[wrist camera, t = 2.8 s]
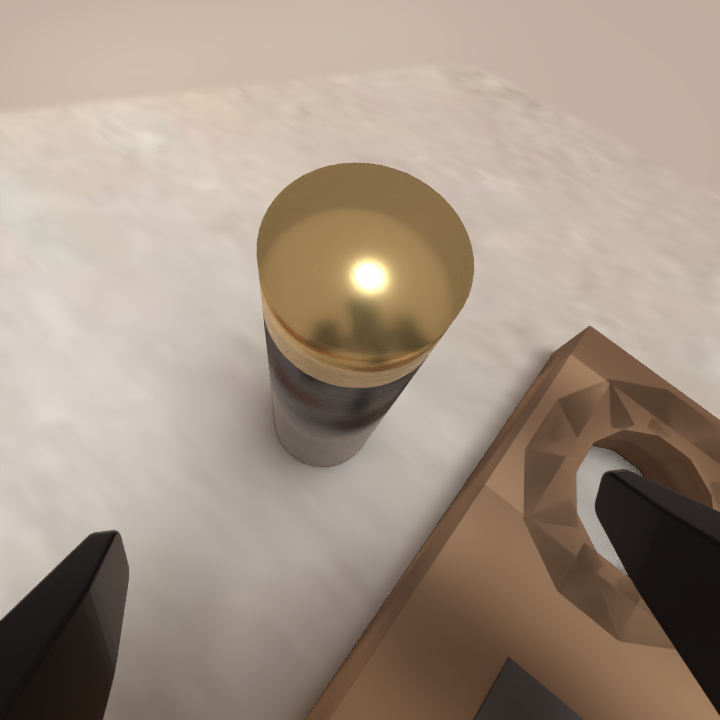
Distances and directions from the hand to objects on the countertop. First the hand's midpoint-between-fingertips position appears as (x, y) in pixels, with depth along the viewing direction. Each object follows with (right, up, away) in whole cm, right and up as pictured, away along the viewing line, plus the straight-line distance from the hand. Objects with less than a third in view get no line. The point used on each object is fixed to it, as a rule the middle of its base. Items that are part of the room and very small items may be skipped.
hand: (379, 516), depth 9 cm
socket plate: (+7, -7, +11) cm, 15 cm away
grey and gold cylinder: (-2, 0, +12) cm, 12 cm away
